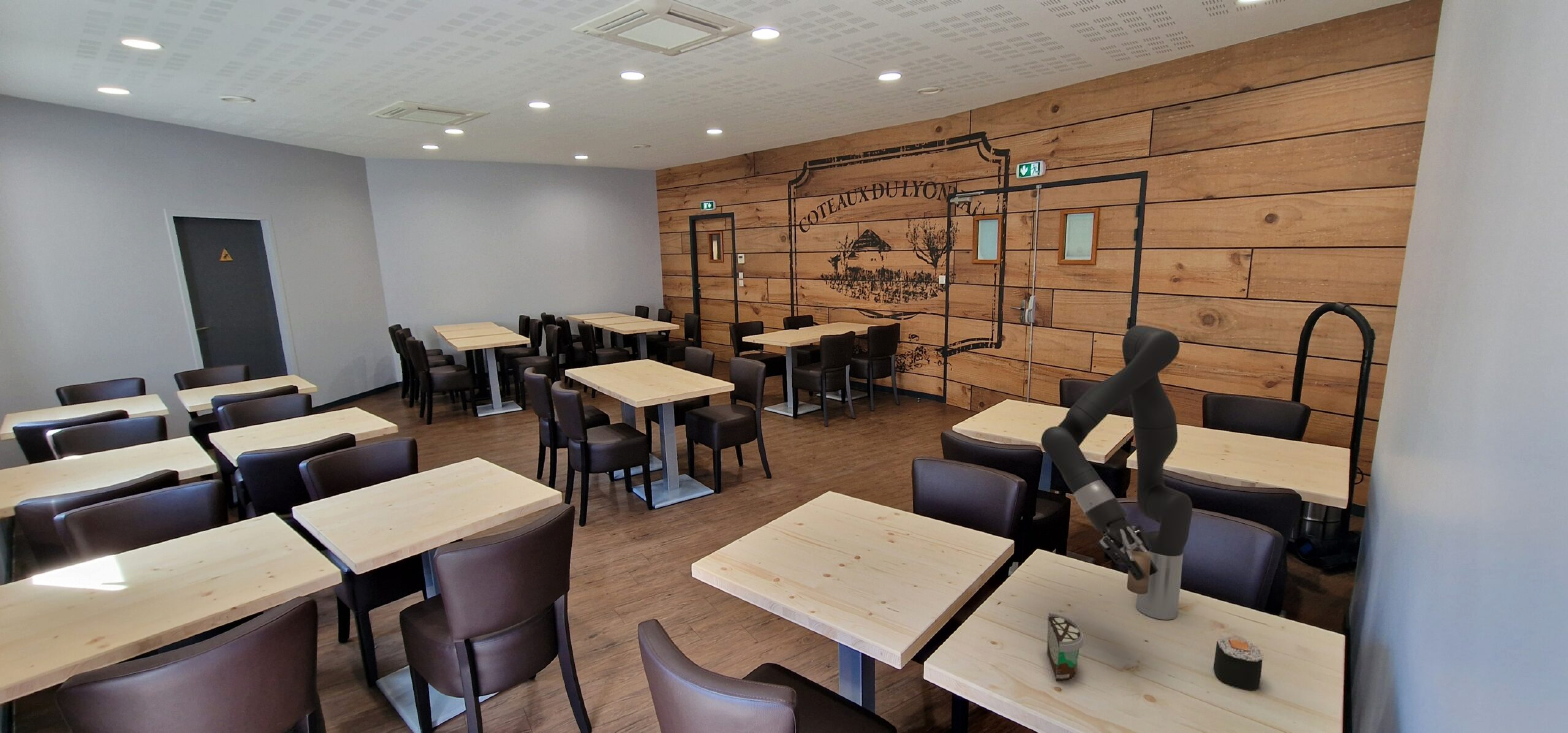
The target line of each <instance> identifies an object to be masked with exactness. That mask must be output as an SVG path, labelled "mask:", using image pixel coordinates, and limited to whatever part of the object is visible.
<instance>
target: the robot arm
mask: <svg viewBox="0 0 1568 733" xmlns="http://www.w3.org/2000/svg"><path fill="white" fill-rule="evenodd" d="M1121 344H1122V345H1121V347H1122V348H1121V349H1122V351H1121V352H1122V356H1123V361H1124V367H1123V368H1121V369H1120V370H1119V371H1118V372H1117V373H1115V374H1113V375H1111V376H1110V377H1108V378H1105V379H1104V380H1103V381H1100V382H1098V383H1097V384H1095V385H1093V386H1092V387H1091V388H1089V389H1088V390H1086V391H1085V393H1084V394H1082V395H1081V396H1080V398H1078V399H1077V400H1076V402H1075V403H1074V404H1073V405H1072V406H1071V407H1070V408H1069V410H1068V411H1067V413H1066V414H1065V417H1064V419H1063V420H1062V421H1061V422H1060V423H1059V424H1058V425H1057V426H1056V425H1055V426H1050V427H1048V428H1046V429H1045V430H1044V431H1043V433H1042V435H1041V438H1040V440H1041V441H1040V443H1041V446H1042V448H1043V451H1044V452H1045V454H1046V455H1047V456H1048V457H1049V458H1050V459H1051V461H1052V462H1053V463H1054V465H1055V466H1056V468H1057V469H1058V470H1059V472H1060V474H1061V475H1062V476H1061V477H1062V478H1063V480H1064V482H1065V483H1066V485H1067V486H1068V488H1069V490H1070V491H1071V493H1072V494H1073V497H1074V498H1075V499H1076V502H1077V503H1078V505H1079V506H1080V508H1081V510H1082V511H1083V513H1084V515H1085V517H1087V519H1088V520H1089V522H1090V524H1091V525H1092V526H1093V528H1094V529H1095V530H1096V531H1100V532H1101V534H1102V539H1100V540H1098V541H1097V542H1096V543H1097V545H1098V546H1099V547H1100V548H1101V549H1102V550H1103V551H1104V552H1105V554H1106V555H1107V556H1108V557H1109V558H1110V559H1111V560H1112V561H1113V562H1114V563H1115V564H1117V565H1119V564H1121V565H1124V566H1125V567H1126V568H1127V569H1129V571H1130V572H1131V574H1132V575H1133V577H1134V578H1135V579H1136V580H1137V581H1139V580H1141V579H1143V578H1145V577H1146V575H1145V574H1144V572H1143V571H1142V569H1141V568H1140V566H1139V565H1138V563H1137V562H1136V561H1134V558H1133V555H1132V553H1131V552H1132V551H1140V552H1144V553H1146V554H1148V555H1150V556H1151V562H1150V573H1149V584H1148V593H1146V594H1137V593H1136V599H1135V600H1136V602H1135V607H1136V608H1137V610H1138V611H1139V612H1140V613H1142V614H1144V615H1145V616H1148V617H1150V618H1153V619H1156V620H1157V619H1158V620H1165V621H1166V620H1167V621H1168V620H1174V619H1176V618H1177V616H1178V611H1179V603H1180V602H1179V601H1180V593H1181V584H1182V571H1183V570H1182V569H1183V558H1184V550H1185V546H1186V544H1187V543H1188V540H1189V539H1188V538H1189V533H1190V528H1191V522H1192V517H1193V502H1192V500H1191V498H1190V496H1189V495H1188V494H1187V493H1184V492H1183V491H1179V490H1176V489H1174V488H1171V487H1169V486H1167V485H1166V484H1165V480H1164V465H1165V463H1166V461H1167V459H1168V457H1170V455H1172V453H1173V451H1174V449H1175V448H1176V445H1177V443H1178V438H1179V436H1178V434H1179V433H1178V424H1177V416H1176V412H1175V409H1174V407H1173V405H1172V403H1171V400H1170V398H1169V397H1168V395H1167V393H1166V392H1165V391H1166V390H1164V387H1163V386H1162V383H1161V381H1160V376H1159V373H1160V372H1162V370H1164V369H1165V368H1166V367H1168V366H1169V365H1170V364H1171V363H1172V362H1174V360H1175V359H1176V358H1177V357H1178V354H1179V351H1180V347H1181V344H1180V340H1179V338H1178V336H1177V335H1176V334H1175V333H1174V332H1171V331H1170V330H1167V329H1164V328H1163V329H1162V328H1158V327H1153V326H1149V325H1138V324H1137V325H1134V326H1132V327H1130V328H1129V329H1128V330H1127V331H1126V332H1125V334H1124V337H1123V338H1122V343H1121ZM1128 396H1130V402H1131V409H1132V410H1131V411H1132V422H1133V423H1132V424H1133V433H1134V435H1133V436H1134V441H1135V448H1136V450H1135V451H1136V462H1137V463H1136V464H1137V465H1136V466H1137V475H1136V476H1137V481H1136V482H1137V485H1136V502H1137V507H1138V510H1139V512H1140V513H1141V514H1142V515H1143V516H1145V517H1146V518H1148V519H1149V520H1152V521H1154V522H1156V523H1158V524H1160V525H1159V530H1151V531H1150V530H1149V531H1146V532H1145V530H1144V529H1143V526H1142V525H1140V524H1137V525H1135V526H1134V525H1131V524H1130V522H1128V521H1127V520H1126V518H1127V516H1128V515H1127V512H1126V511H1125V509H1124V508H1123V505H1121V504H1120V502H1119V500H1118V499H1117V498H1116V496H1115V495H1114V494H1113V492H1112V490H1111V489H1110V487H1108V486H1107V484H1106V483H1105V482H1104V481H1103V479H1101V477H1100V475H1099V474H1098V472H1097V471H1096V470H1095V468H1094V467H1093V466H1092V464H1091V463H1090V462H1089V461H1088V460H1087V458H1086V457H1085V455H1084V453H1083V451H1082V450H1081V447H1080V445H1082V443H1083V442H1084V440H1085V439H1086V438H1087V436H1089V434H1090V433H1091V432H1092V431H1093V430H1094V429H1095V428H1096V427H1097V426H1098V425H1099V424H1100V423H1101V422H1103V420H1105V418H1106V417H1107V416H1108V415H1109V414H1110V413H1111V412H1112V411H1113V410H1114V409H1115V408H1116V407H1117V406H1118V405H1119V404H1120V403H1121V402H1123V400H1125V399H1126V398H1127V397H1128Z"/></svg>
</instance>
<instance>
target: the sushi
mask: <svg viewBox="0 0 1568 733" xmlns="http://www.w3.org/2000/svg"><path fill="white" fill-rule="evenodd" d="M1264 657H1265V656H1264V653H1262V652H1261V648H1258V645H1256V644H1255V645H1254V644H1253V643H1252V641H1250V640H1248V639H1245V638H1242V637H1238V638H1237V637H1236V636H1235V637H1232V636H1229V635H1228V636H1221V637H1220V639H1218V641H1217V640H1216V646H1215V653H1214V660H1213V672H1214V676H1215V678H1216V679H1217V680H1218V681H1220V682H1221V683H1222V684H1225V685H1226V686H1229V687H1233V688H1237V689H1241V690H1246V691H1256V690H1257V691H1258V689H1259V687H1260V682H1261V677H1262V670H1263V660H1264Z"/></svg>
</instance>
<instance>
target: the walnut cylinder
mask: <svg viewBox="0 0 1568 733" xmlns="http://www.w3.org/2000/svg"><path fill="white" fill-rule="evenodd" d="M1131 553H1132V555H1133V558H1134V561H1136V562H1137V563H1138V565H1139V566H1140V568H1141V569H1142V571H1143V572H1144V574H1145V575H1146V577H1145V578H1143V579H1141V580H1139V581H1137V580H1136V579H1135V578H1134V577H1133V575H1132V574H1131V572H1130V571H1129V569H1128V568H1127V569H1128V570H1127V580H1126V581H1127V583H1126V588H1127V590H1128V591H1130V592H1132V593H1133V594H1136V595H1137V594H1146V593H1148V584H1149V573H1150V562H1151V556H1150V555H1148V554H1146V553H1144V552H1140V551H1139V550H1138V551H1131Z"/></svg>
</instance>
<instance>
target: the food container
mask: <svg viewBox="0 0 1568 733" xmlns="http://www.w3.org/2000/svg"><path fill="white" fill-rule="evenodd" d="M1046 642H1047V645H1046V655H1047V656H1046V657H1047V659H1048V662H1049V665H1050V668H1052V669H1051V671H1053V672H1052V674H1053V677H1054V680H1055V682H1068V681H1070V680H1073V679H1072V678H1075V676H1076V673H1077V666H1078V659H1079V654H1080V649H1081V648H1082V647H1083V646H1084V644H1085V643H1084V642H1085V638H1084V633H1083V631H1082V630H1081V627H1080V626H1079V625H1078V624H1077V623H1076V622H1075V621H1073V620H1072V619H1070V618H1068V617H1066V616H1063V615H1060V614H1057V613H1051V612H1048V614H1047V641H1046Z"/></svg>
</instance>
